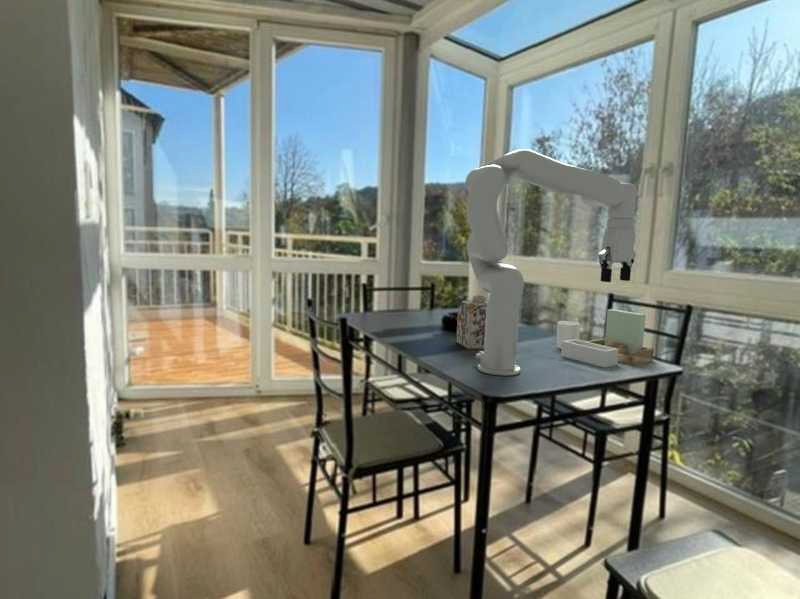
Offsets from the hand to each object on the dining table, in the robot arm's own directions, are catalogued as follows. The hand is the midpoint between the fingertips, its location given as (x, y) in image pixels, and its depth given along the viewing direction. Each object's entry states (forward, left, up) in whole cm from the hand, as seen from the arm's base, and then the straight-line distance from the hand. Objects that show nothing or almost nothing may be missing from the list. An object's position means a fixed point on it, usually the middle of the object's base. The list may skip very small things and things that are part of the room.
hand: (615, 281), depth 164 cm
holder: (-7, 0, -27) cm, 28 cm away
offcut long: (-6, +12, -26) cm, 29 cm away
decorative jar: (-43, -15, -28) cm, 53 cm away
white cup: (-22, +9, -28) cm, 36 cm away
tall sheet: (-5, +16, -26) cm, 31 cm away
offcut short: (-5, +12, -24) cm, 27 cm away
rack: (-5, +13, -27) cm, 30 cm away
